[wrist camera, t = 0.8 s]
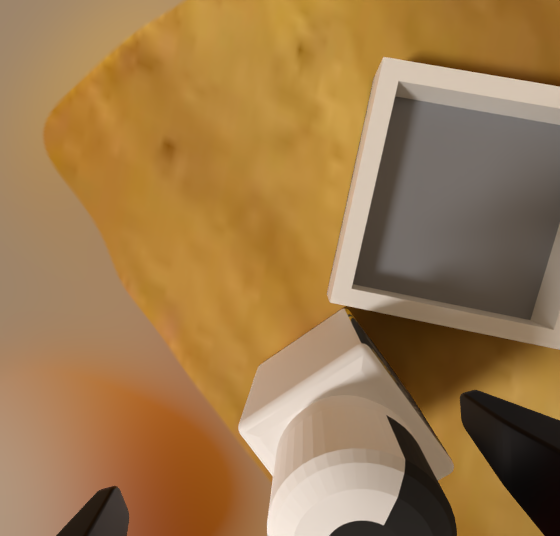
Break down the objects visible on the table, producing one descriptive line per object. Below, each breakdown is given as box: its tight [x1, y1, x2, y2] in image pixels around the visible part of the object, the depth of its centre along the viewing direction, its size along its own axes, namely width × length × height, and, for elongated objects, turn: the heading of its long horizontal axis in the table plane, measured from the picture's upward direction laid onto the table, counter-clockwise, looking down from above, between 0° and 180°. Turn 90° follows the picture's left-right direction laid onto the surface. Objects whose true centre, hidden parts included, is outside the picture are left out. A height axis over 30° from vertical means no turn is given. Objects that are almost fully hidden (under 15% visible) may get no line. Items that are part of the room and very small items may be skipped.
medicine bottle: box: [238, 308, 457, 536], centre depth 16 cm, size 7×7×12 cm
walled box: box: [327, 57, 560, 350], centre depth 19 cm, size 13×13×2 cm
